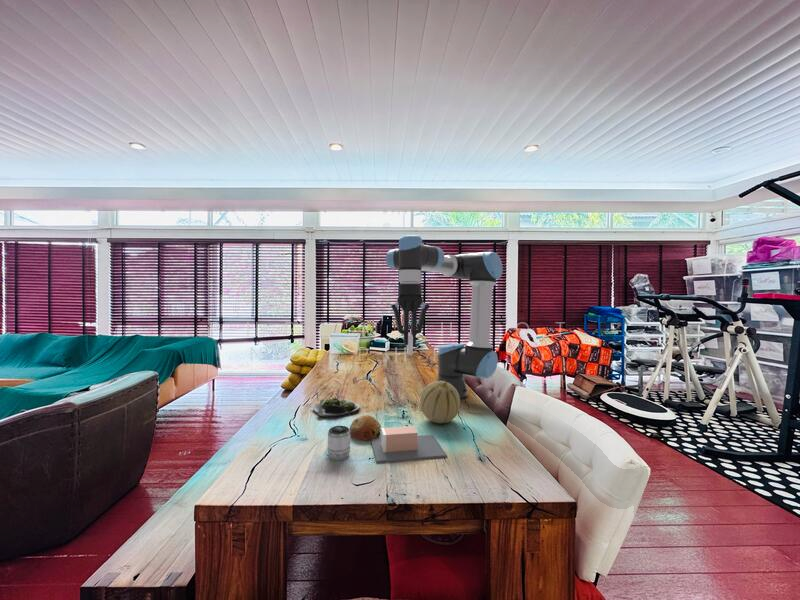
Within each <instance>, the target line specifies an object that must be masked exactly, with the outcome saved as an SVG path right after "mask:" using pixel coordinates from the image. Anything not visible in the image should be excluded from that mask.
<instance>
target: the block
mask: <svg viewBox="0 0 800 600" xmlns="http://www.w3.org/2000/svg"><path fill="white" fill-rule="evenodd" d="M380 432H381V434H380V438H381V446H382V449H383V452H395V451H408V450H417V439H418V436H419V435H418V431H417V429H416V427H415V426H414V425H412V426H396V427H382V428H381V431H380Z"/></svg>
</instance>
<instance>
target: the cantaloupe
mask: <svg viewBox="0 0 800 600" xmlns="http://www.w3.org/2000/svg"><path fill="white" fill-rule="evenodd" d="M419 405H420V410H421V413H422V414H423V416H425V417H426V418H427V420H429V421H431V422H432V423H436V424H447V423H450V422H451V421H453V420H454V419H455V418H456V417H457V416H458V414H459V411H460V407H461V399H460V396H459V393H458V392H457V390H456V389H455V388H454V387H453V386H452V385H451V384H450V383H448V382H445V381H437V380H435V381H431V382H429V383H428V384H427V385H426V386H424V388H423V390H422V391H421V393H420V398H419Z"/></svg>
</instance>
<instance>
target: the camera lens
mask: <svg viewBox="0 0 800 600" xmlns="http://www.w3.org/2000/svg"><path fill="white" fill-rule="evenodd" d="M350 451H351V435H350V427H348V426H344V425H336V426H331V427H330V428H329V429H328V431H327V454H328V458H329V459H330V460H332V461H333V460H334V461H343V460H346V459H347V458H348V457H349V456H350Z"/></svg>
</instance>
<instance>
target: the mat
mask: <svg viewBox="0 0 800 600" xmlns="http://www.w3.org/2000/svg"><path fill="white" fill-rule="evenodd" d="M370 441H371V442H370V443H371V445H372V451H373V454H374V458H375V463H376V464H380V463H382V464H383V463H392V462H393V463H395V462H405V461H414V460H415V461H416V460H428V459H439V458H440V459H441V458H447V457H448V454H447V453H446V451H445V450H444V448H443V447H442V445H441V444H440V443H439V441H438V440H437V439H436V437H435V435H434V434H424V435H422V434H421V435H418V439H417V450H408V451H395V452H383V449H382V446H381V437H378V438H377V439H371V440H370Z"/></svg>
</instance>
